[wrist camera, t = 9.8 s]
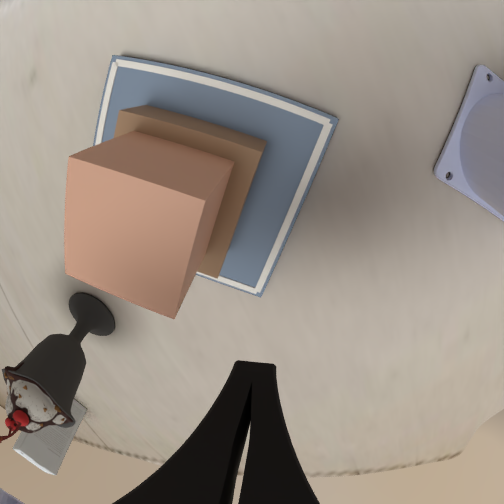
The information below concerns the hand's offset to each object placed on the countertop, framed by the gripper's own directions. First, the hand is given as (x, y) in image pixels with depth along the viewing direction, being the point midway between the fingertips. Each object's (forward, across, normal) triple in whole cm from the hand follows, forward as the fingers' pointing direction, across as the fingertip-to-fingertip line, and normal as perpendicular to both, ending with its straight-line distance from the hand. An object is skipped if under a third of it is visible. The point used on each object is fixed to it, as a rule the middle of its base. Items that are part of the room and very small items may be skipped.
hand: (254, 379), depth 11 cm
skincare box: (+11, +27, +27) cm, 40 cm away
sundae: (+11, +16, +8) cm, 21 cm away
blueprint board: (+10, +5, -4) cm, 12 cm away
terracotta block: (+6, +5, -4) cm, 9 cm away
